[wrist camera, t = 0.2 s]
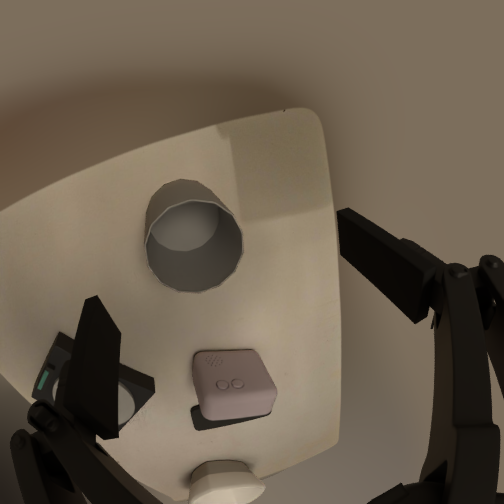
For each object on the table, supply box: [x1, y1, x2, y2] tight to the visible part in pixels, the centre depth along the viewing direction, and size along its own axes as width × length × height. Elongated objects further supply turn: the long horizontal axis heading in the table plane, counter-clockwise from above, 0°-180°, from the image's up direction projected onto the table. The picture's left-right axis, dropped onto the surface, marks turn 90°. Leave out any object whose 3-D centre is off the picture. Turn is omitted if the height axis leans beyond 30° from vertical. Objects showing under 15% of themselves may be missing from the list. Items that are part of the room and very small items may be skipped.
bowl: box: [188, 460, 265, 504], centre depth 54 cm, size 18×18×9 cm
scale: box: [31, 332, 155, 431], centre depth 36 cm, size 16×14×4 cm
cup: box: [144, 179, 244, 293], centre depth 29 cm, size 8×8×10 cm
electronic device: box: [192, 350, 277, 420], centre depth 39 cm, size 10×5×10 cm, turn 78°
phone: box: [191, 406, 272, 431], centre depth 49 cm, size 7×1×15 cm
